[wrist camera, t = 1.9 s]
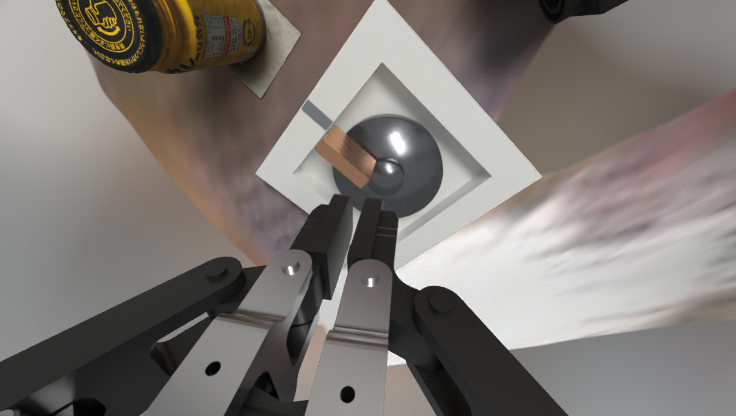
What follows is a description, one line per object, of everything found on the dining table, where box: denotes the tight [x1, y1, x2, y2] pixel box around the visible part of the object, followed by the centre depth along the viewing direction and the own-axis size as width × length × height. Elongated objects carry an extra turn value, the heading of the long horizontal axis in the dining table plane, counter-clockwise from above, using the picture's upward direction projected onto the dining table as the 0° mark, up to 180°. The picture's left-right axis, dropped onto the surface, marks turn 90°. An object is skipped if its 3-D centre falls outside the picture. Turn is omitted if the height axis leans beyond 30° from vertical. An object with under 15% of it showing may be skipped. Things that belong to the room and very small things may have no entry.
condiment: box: [55, 0, 301, 98], centre depth 19 cm, size 7×8×12 cm
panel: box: [256, 0, 542, 270], centre depth 27 cm, size 20×20×3 cm
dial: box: [314, 114, 443, 218], centre depth 25 cm, size 12×11×6 cm
